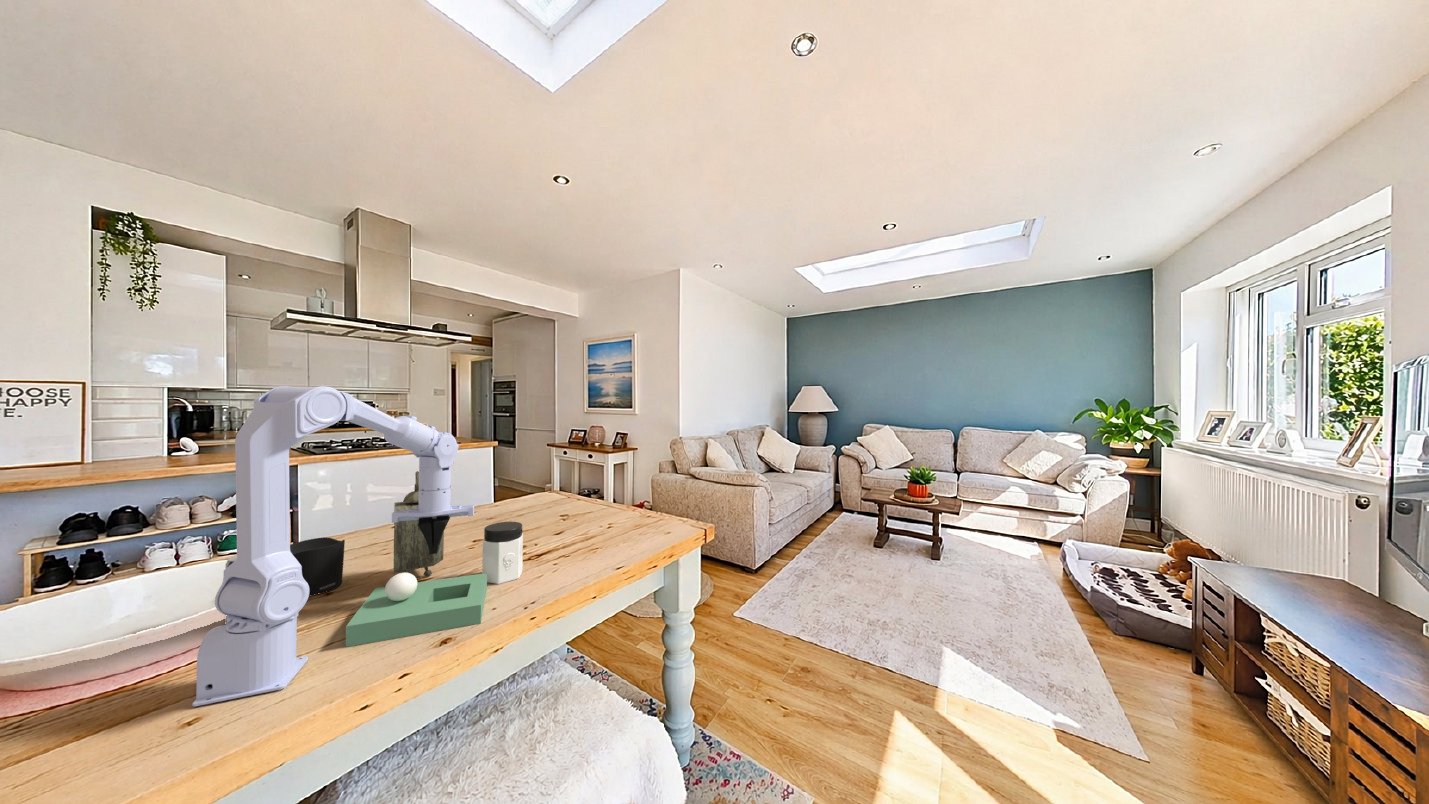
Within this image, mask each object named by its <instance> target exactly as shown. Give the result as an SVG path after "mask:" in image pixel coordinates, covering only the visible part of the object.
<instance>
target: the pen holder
mask: <svg viewBox="0 0 1429 804" xmlns="http://www.w3.org/2000/svg"><path fill="white" fill-rule="evenodd" d="M345 541H346V540H345V539H342V540H338V539H335V538H333V537H332V538H331V537H327V536H324V537H317V538H316V537H315V538H310V539H306V540H305V539H304V540H301V541H297V542H294V543H290V552H291V553H292V554H293V556H294V557H295V558H296V559H297V561H298V562H299V563H300V565H301V566H302V576H303V578H304V580H305V581H306V582H307V583H308V585H309V595H314V594H318V593H322V594H324V593H323V592H326V591H329V592H331V591H333V590H335V589H337V588H338V587H340V586H339V585H341V584H342V582H343V573H344V561H345V560H344V559H345V557H344V556H345ZM337 586H338V587H337ZM336 587H337V588H336ZM334 588H335V589H334ZM332 589H333V590H332ZM330 590H331V591H330ZM326 593H327V592H326ZM318 595H319V594H318ZM314 596H315V595H314Z"/></svg>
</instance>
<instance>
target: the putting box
mask: <svg viewBox="0 0 1429 804" xmlns="http://www.w3.org/2000/svg"><path fill="white" fill-rule="evenodd" d="M385 587H386V586H380V587H375V588H374V589H373V590H372V592H371V593H370V595H369V596H368V597H367V598H366V599H365V601H364V602H363V604H362V605H361V606H360V608H358V610H357V611H356V612H355V614H354V615H353V617H352V618H351V619H350V620H349V622H348V623H347V624H346V626H345V647H346V648H348V647H354V646H359V645H366V644H371V643H377V642H382V641H383V642H384V641H387V640H388V641H389V640H394V639H399V638H406V637H411V636H416V635H422V634H428V633H433V632H439V631H446V630H451V629H455V628H463V627H468V626H474V625H479V624H481V623H482V617H483V611H484V607H485V601H486V597H487V596H486V595H487V592H488V591H487V590H488V589H487V588H488V582H487V573H484V574H482V573H477V574H476V573H475V574H470V575H463V576H454V577H448V578H439V579H434V580H433V579H432V580H425V581H424V580H423V581H417V588H416V590H415V592H414V593H413V594H412V595H411V596H410V597H409V598H407V599H405V600H402V601H393V600H391V599H389V598H388V597H387V596H386V593H385Z"/></svg>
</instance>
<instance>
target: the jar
mask: <svg viewBox="0 0 1429 804" xmlns="http://www.w3.org/2000/svg"><path fill="white" fill-rule="evenodd" d="M483 531H484V532H483V535H484V536H483V539H484V540H482V560H481V561H482V567H481V568H482V571H481V572H482V573H481V574H484V573H487V584H496V585H501V584H504V583H508V582H511V581H515V580H518V579H520V577H521V576H522V575H521V574H522V573H523V567H524V566H523V562H524V561H523V559H524V558H523V556H524V554H523V551H524V549H523V548H524V547H523V546H524V533H523V524H522V523H521V522H517V521H501V522H495V523H492V524H488V525H486V526H485V527H484V530H483Z"/></svg>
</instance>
